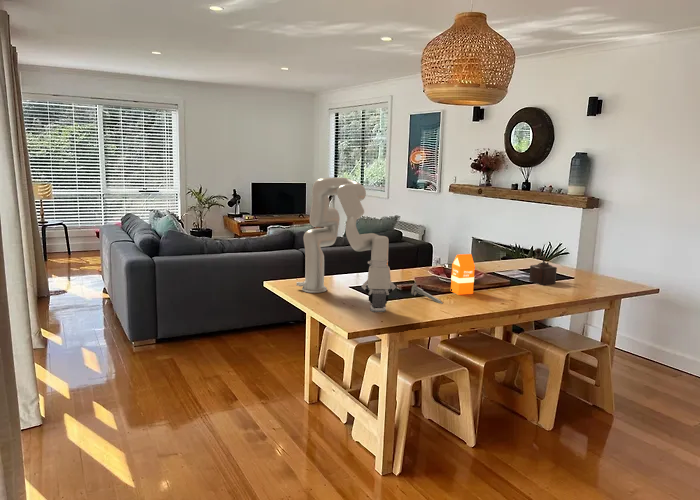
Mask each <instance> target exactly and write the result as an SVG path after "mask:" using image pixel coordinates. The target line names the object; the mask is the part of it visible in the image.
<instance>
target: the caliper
mask: <svg viewBox="0 0 700 500" xmlns="http://www.w3.org/2000/svg"><path fill="white" fill-rule="evenodd" d="M410 291H411V293H410V294H411V295H412V296H417V294H418V295H420V296H425V297H427V298H428V299H431V300H432V301H433V302H435V303H438V304H441V305H443V304H444V302H442V300H440V299H439V298H438V297H435V296H433V295H432V294H430V293H428V292H426V291H424V289H422V288H421V287H419V286H418V284H416V283H413V285H412V286H411V290H410Z"/></svg>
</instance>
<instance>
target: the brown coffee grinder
mask: <svg viewBox="0 0 700 500" xmlns="http://www.w3.org/2000/svg"><path fill="white" fill-rule="evenodd" d="M542 250H543V249H542V248H540V247H537V248H535V249H534V253H535V254H536V255H535V259H542V262H540V263H538V264H532V265H530V266H529V267H530V268H529V276H528V277H529V279H528V281H529V282H530V283H533V284H536V285H540V286H549V285H555V284H556V279H557V269H558V268H557V267H556V266H553V265H551V264H549V261H547V262H545V261H546V253H542V252H543V251H542ZM541 253H542V254H541Z"/></svg>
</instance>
